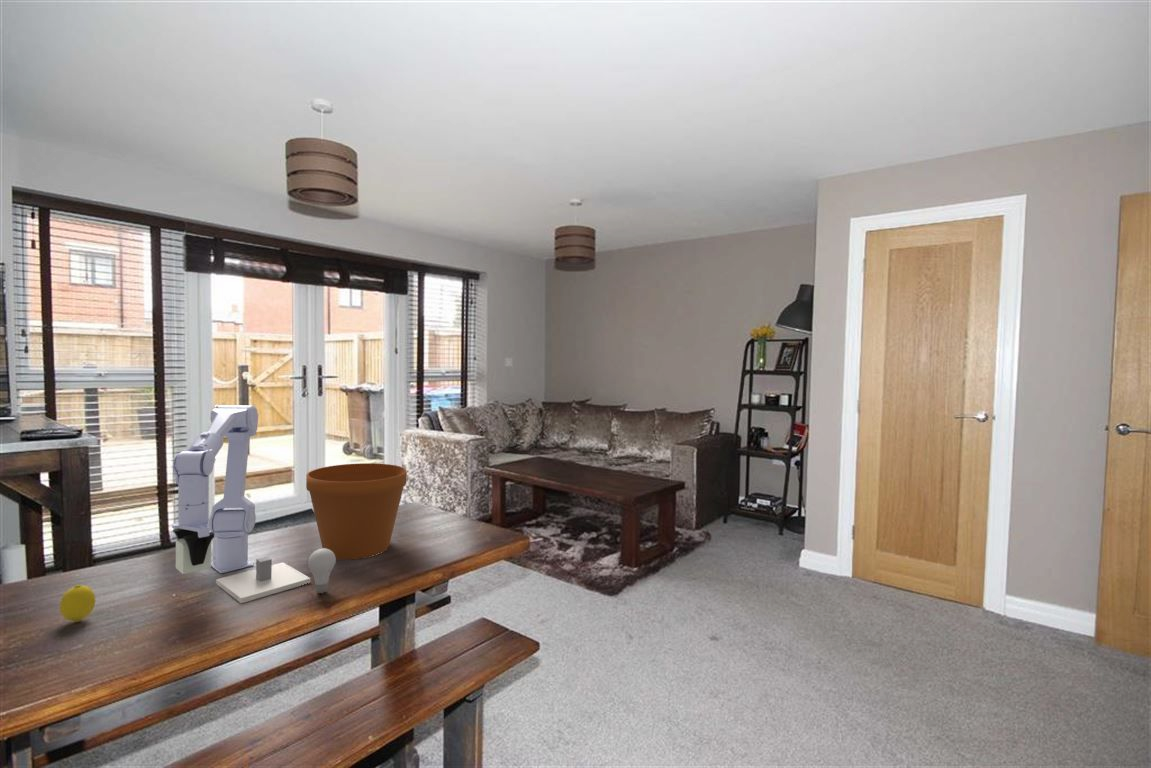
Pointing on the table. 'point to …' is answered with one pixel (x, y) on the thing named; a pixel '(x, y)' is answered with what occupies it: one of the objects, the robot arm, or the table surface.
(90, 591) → the lemon
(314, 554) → the lightbulb
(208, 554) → the pale green block
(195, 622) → the table surface
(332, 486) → the flowerpot
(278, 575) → the post board
